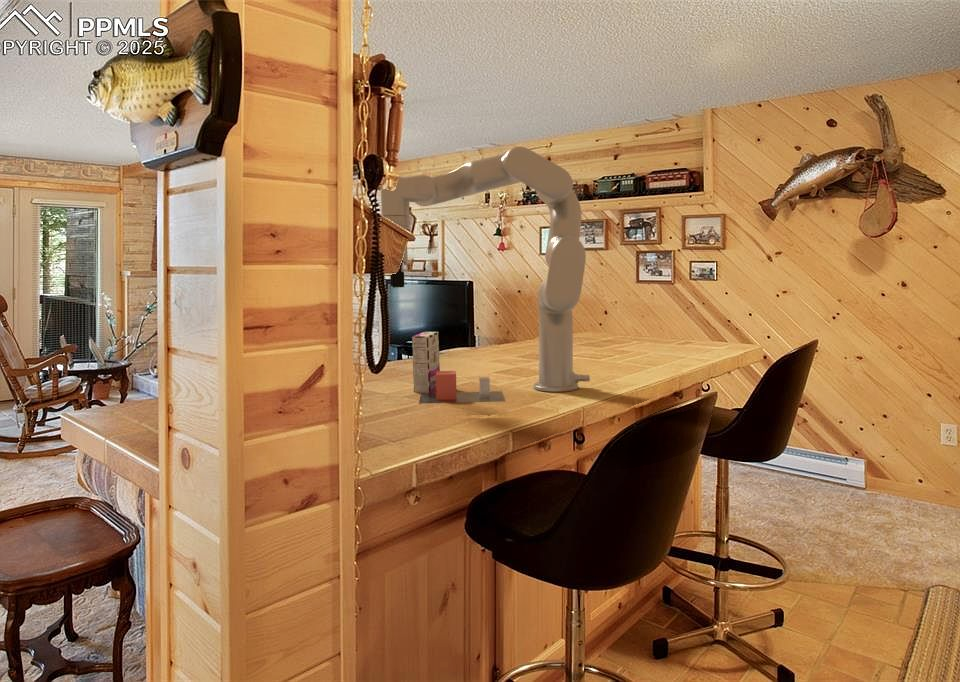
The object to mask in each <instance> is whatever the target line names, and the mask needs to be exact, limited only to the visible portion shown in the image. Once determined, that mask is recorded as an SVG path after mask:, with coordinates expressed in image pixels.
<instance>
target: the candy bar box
mask: <svg viewBox="0 0 960 682" xmlns="http://www.w3.org/2000/svg"><path fill="white" fill-rule="evenodd" d="M439 338H440V337H439V331H423V332H420V333H418V334H415V335H413V336H411V348H412V349H411V351H412V352H411V353H412V365H413V366H412V369H413V370H412V372H413V393H420V394H421V393H433V391H436V371H441V368H440V366H441V365H440V344H439V343H440V341H439Z"/></svg>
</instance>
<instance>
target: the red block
mask: <svg viewBox="0 0 960 682" xmlns="http://www.w3.org/2000/svg"><path fill="white" fill-rule="evenodd" d="M435 391H436V392H435V393H436V398H437V400H446V399H457V392H458V391H457V370H440V371H436V389H435Z"/></svg>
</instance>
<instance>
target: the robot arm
mask: <svg viewBox="0 0 960 682" xmlns="http://www.w3.org/2000/svg"><path fill="white" fill-rule="evenodd" d="M398 176H399V175H398ZM519 183H522V184H524V185H526V186H527V187H529V188H531V189H532V190H534V191H535V192H536V195H537V197H538V198H539V200H540V201H542V202H543V203H544V204H545V205H546V206H547V208H548V210H549V215H550V222H549V230H548V231H549V232H548V237H547V243H546V249H545V253H544V257H545V261H546V265H547V266H548V271H547V278H545V279H544V280H543V281H542V282H541V284H540V285H539V287H538V290H537V293H536V294H537V295H536V296H537V297H536V298H537V300H536V302H537V311H538V381H536V382H534V383H533V389H535V390H537V391H543V392H551V393H555V392H557V393H558V392H559V393H560V392H562V393H563V392H570V391H576V390H578V388H579V382H585V383H586V382H590V380H591V378H590V374H583V373H580V374H578V373H576V372H574V368H573V367H574V365H573V364H574V363H573V361H574V360H573V359H574V357H573V355H574V354H573V353H574V348H573V347H574V342H573V341H574V338H573V337H574V336H573V335H574V334H573V333H574V319H573V309H574V308H575V307H576V306H577V304H578V303H579V301H580V299H581V295H582V293H581V292H582V287H583V281H584V274H585V268H586V258H587V257H586V256H587V255H586V249H585V247H584V244H583V243H582V242H581V241H580V235H581V226H582V209H581V204H580V201H579V199H578V196H577V195H576V193H575V192H574V190H573V187H574V182H573V178H572V175H571V174H570V173H569V171H567V170H566V169H565V168H563V167H561V166H560V165H558V164H556V163H554V162H552V161H551V160H549V159H548V158H545V157H544V156H542V155H540V154H539V153H537V152H535V151H533V150H531V149H529V148H527V147H524V146H519V145H518V146H514V147H512V148H511V149H509V150H508V151H507V152H504V153H501V154H497V155H494V156H493V155H491V156H489V157H485V158H481V159H476V160H473V161H469V162H466V163H465V164H463V165H461V166H459V167H458V168H457V169H454V170H452V171H450V172H447V173H444V174H439V175H436V176H432V177H431V176H429V175H427V174H419V175H412V176H411V175H410V176H399V180H398V183H397V186H396V189H395V190H394V191H390V190H387V189H383V190H381V189H380V201H381V202H380V204H381V216H382V215H383V216H384V217H386V218H388V219H390V220H391V221H393V222H394V223H396V224H398V225H399V226H401V227H403V228H404V229H406V230H410V228H411V227H410V226H411V225H410V224H411V223H410V222H411V221H410V220H411V219H410V215H411V214H410V203H415V204H416V205H417V206H420V207H428V206H433V205H437V204H441V203H445V202H449V201H453V200H456V199H460V198H463V197H470V196H473V195H477V194H481V193H484V192H487V191H491V190H494V189H498V188H502V187H503V188H504V187H507V186H510V185H511V186H512V185H516V184H519ZM408 264H409V259H408V245H407V246H406V249H405V253H404V257H403V260H402V263H401V265H400V269H399V271H398V272H397V273H396V274H392V275H390V274H389V278H390V279H389V280H390V287H392V288H404V287H405V271H404V266H407V265H408Z"/></svg>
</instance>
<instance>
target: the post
mask: <svg viewBox="0 0 960 682" xmlns="http://www.w3.org/2000/svg"><path fill="white" fill-rule="evenodd" d="M478 380H479V381H478V382H479V385H478V386H479V391H459V392H458V391H457V399H446V400H437V398H436V392H430V393H421V392H420V395H419V399H418V400H419V401H418V404H419V405H421V404H453V403H454V404H456V403H459V404H460V403H486V402H487V403H492V402H493V403H495V402H496V403H498V402H500V403H501V402H506V399H505V396H504V394H503V392H502V391H501V390H499V391H496V390H495V391H493V390H492V391H491V389H490V388H491V386H490V385H491V384H490V376H479V377H478Z"/></svg>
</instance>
